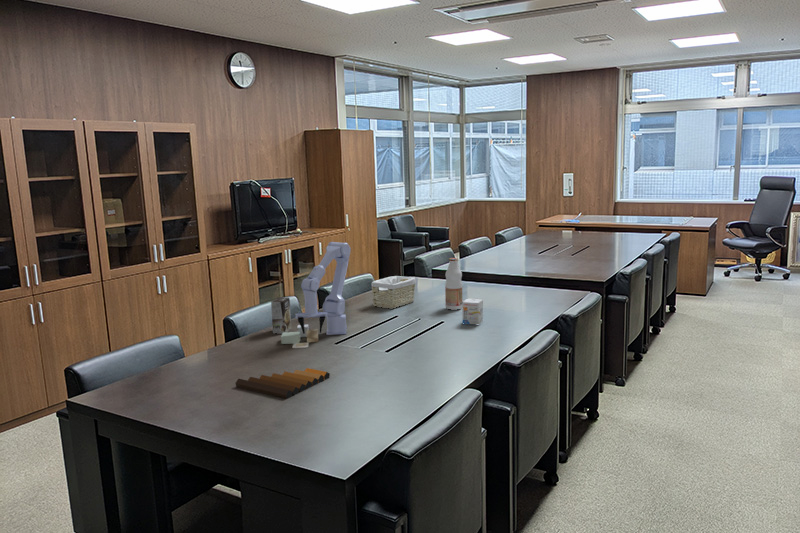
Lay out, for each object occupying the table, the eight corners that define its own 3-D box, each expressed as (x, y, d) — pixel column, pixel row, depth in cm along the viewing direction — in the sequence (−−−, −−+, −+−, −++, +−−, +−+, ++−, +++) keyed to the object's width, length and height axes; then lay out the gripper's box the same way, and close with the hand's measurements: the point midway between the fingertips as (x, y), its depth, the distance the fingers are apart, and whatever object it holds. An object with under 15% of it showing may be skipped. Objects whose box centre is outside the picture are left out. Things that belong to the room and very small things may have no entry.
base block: (300, 339, 291) (300, 331, 291) (299, 343, 283) (298, 335, 283) (283, 339, 291) (282, 332, 290) (281, 344, 283) (281, 336, 282)
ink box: (462, 324, 309) (461, 301, 307) (466, 320, 317) (466, 298, 315) (478, 325, 306) (478, 302, 304) (483, 321, 314) (483, 299, 312)
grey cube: (308, 334, 299) (308, 324, 298) (308, 337, 294) (307, 327, 293) (298, 334, 299) (297, 324, 298) (297, 337, 294) (297, 327, 293)
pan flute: (235, 388, 231) (286, 400, 218) (234, 379, 230) (285, 391, 217) (281, 368, 252) (330, 378, 238) (280, 360, 251) (329, 370, 238)
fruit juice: (448, 311, 337) (447, 260, 333) (443, 307, 346) (442, 257, 342) (464, 309, 339) (464, 259, 335) (459, 305, 348) (459, 256, 344)
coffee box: (284, 334, 300) (282, 301, 298) (272, 333, 302) (270, 301, 299) (291, 329, 309) (290, 297, 306) (279, 328, 310) (277, 297, 308)
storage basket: (394, 299, 370) (394, 274, 368) (417, 301, 361) (417, 277, 359) (370, 307, 351) (369, 281, 349) (393, 310, 342) (393, 284, 339)
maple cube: (318, 339, 291) (317, 328, 290) (317, 342, 286) (317, 331, 285) (307, 339, 290) (307, 329, 289) (307, 342, 285) (306, 332, 284)
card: (309, 343, 284) (309, 342, 284) (308, 347, 277) (308, 346, 277) (293, 343, 284) (293, 342, 284) (292, 348, 277) (292, 347, 277)
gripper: (294, 306, 280) (295, 335, 283) (326, 305, 282) (327, 334, 284) (295, 303, 287) (297, 331, 290) (326, 302, 288) (328, 330, 291)
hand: (312, 332), depth 287 cm, fingers open, 7 cm apart
